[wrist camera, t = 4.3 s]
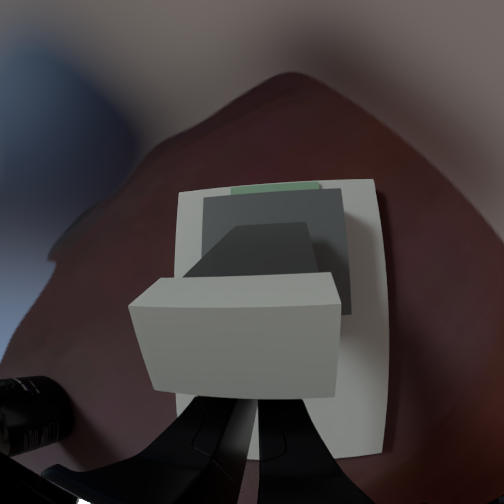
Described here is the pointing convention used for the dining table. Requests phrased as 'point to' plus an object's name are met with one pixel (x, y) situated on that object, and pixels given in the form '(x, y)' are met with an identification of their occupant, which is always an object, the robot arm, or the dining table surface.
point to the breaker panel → (356, 330)
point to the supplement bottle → (32, 414)
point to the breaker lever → (244, 320)
